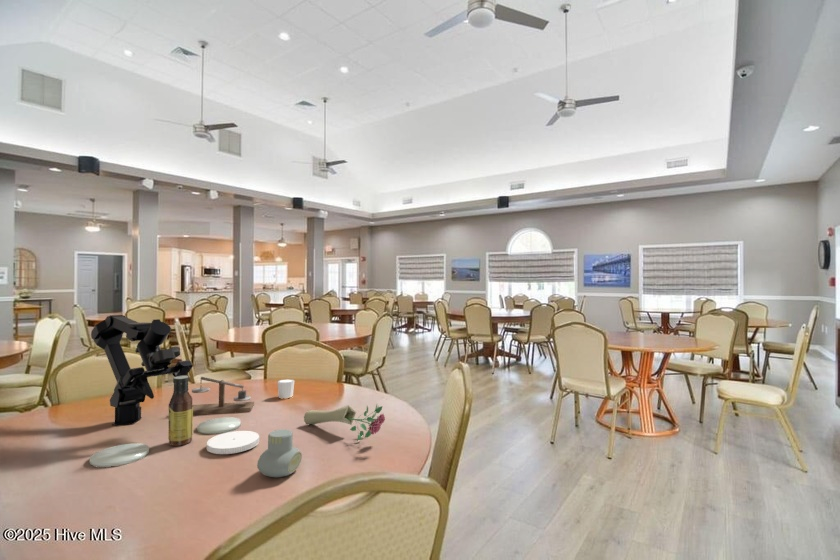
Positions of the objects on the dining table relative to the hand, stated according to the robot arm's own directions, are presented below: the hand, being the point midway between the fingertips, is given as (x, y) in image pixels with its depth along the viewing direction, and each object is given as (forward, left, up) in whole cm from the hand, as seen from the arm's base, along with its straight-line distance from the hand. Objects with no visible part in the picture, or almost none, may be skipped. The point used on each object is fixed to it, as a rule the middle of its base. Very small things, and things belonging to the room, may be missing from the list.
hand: (168, 394), depth 126 cm
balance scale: (+9, +26, -13) cm, 31 cm away
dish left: (-7, -13, -13) cm, 20 cm away
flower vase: (+54, -9, -13) cm, 56 cm away
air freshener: (+36, -32, -13) cm, 50 cm away
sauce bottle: (+5, -6, -13) cm, 16 cm away
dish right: (+13, +6, -13) cm, 20 cm away
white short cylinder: (+31, +40, -13) cm, 53 cm away
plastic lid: (+21, -12, -14) cm, 28 cm away
